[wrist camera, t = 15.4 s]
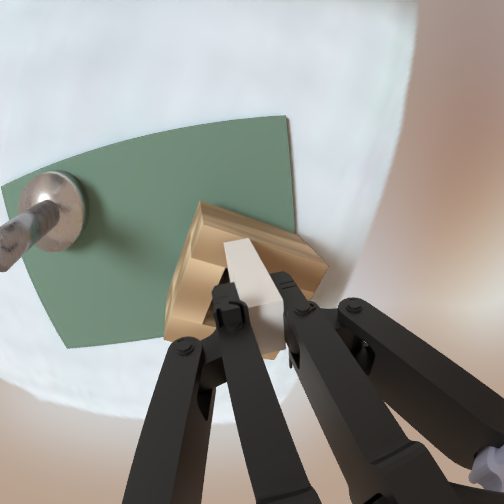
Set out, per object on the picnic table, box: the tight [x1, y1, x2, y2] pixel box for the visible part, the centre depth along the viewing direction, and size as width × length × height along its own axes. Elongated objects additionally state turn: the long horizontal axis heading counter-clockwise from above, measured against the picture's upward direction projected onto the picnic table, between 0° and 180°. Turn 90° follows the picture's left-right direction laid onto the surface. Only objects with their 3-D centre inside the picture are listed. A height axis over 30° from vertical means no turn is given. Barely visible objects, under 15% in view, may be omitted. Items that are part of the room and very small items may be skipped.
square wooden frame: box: [164, 200, 329, 360], centre depth 21 cm, size 9×9×6 cm
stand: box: [0, 170, 89, 272], centre depth 16 cm, size 7×7×10 cm
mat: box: [1, 115, 295, 349], centre depth 24 cm, size 20×28×1 cm
